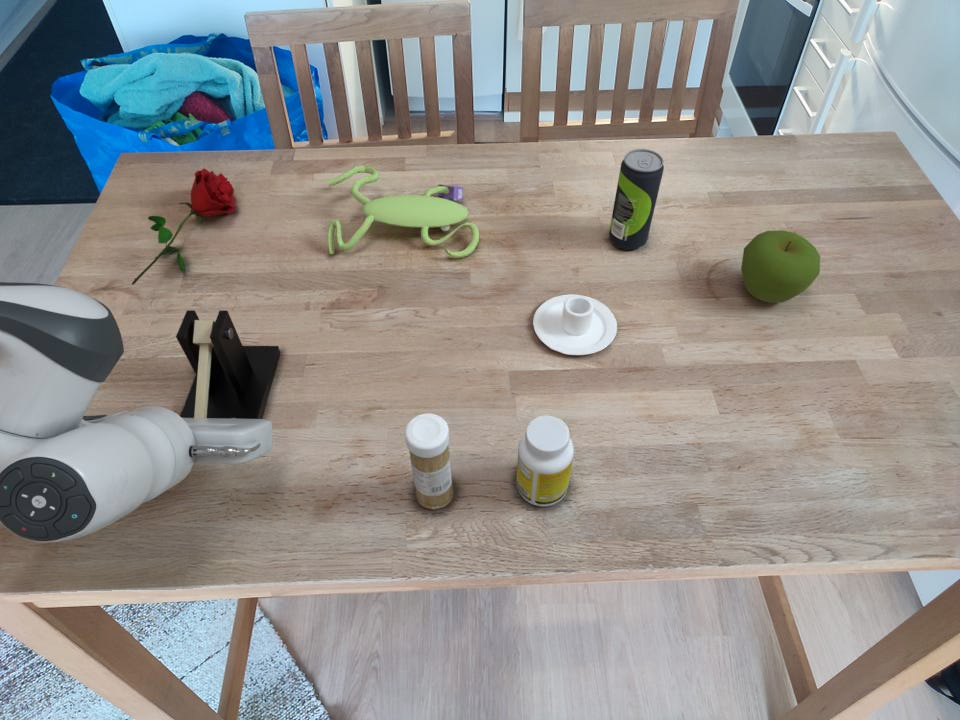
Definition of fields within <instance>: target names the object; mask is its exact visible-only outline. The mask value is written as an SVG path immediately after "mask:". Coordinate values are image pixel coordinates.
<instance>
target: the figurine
mask: <svg viewBox="0 0 960 720" xmlns="http://www.w3.org/2000/svg"><path fill="white" fill-rule="evenodd" d="M363 173H365V174H370V175H369V176H364V177H361V178H360V179H357V180H356V181H354V182H353V184H352V186H351V190H350V193H351V195H352V197H353V198H354V199H355V200H356V201H358V202H359V203H361V204H362V205H363V208H362V209H361V210H362V212H363V213H364V215H365V216H366V217H365V219H364V220H363V223H362V224H361V226H360V227H359V228H358V229H357V230H356V232H355V233H354V234H353V235H352V237H351V238H350V239H349V241H348V242H344V240H343V235H342V226H341V221H340V220H338V219H331V221H330V224H329V227H328V233H327V235H328V236H327V241H328V251H329V254H330V255H334V254H335V250H336V249H335V231H337V233H336V242H337V245H338V247H339V249H340V250H341V251H350V250H352V249H353V248H355V246H356V245H357V243H359V241H360V240H361V239H362V237H363V236H364V235H365V234H366V233H367V232H368V230H369V228H370V227H371V226H372V224H373V222H379V223H382V224H384V225H385V224H386V225H389V226H395V227H402V228H411V229H418V228H419V229H420V237H421V240H422V242H423V243H424V244H426V245H428V246H436V245H437V246H438V245H439V244H441V243H443V242H444V241H446V240H448V239H449V238H451V237H452V236H453V235H454V234H455V233H456V232H457V231H458V230H459V229H460V228H461V227H468V228H469V230H470V231H471V240H470V242H469V243H468V245H467V247H465V249H463V250H460V251H451V250H449V249H448V248H447V247H445V246H444V248H443V249H444V252H445V254H446V255H448V256H449V257H450V258H452V259H462V258H465V257H468V256H470V255H471V254H472V253H473V252H474V251H475V249H476V248H477V246H478V245H479V242H480V230H479V227H478V226H477V225H476V224H475V223H473V222H470V221H467V222H463V221H465V220H467V219H468V216H469V215H470V212H469V211H468V209H467V207H465V206H464V205H462V204H460V203H458V202H457V201H463V199H464V189H465V188H464V186H457V185H447V184H446V185H444V184H438V185H437V186H435V187H431V188H428V189H426V191H425V192H424V194H423V195H419V194H399V195H397V194H396V195H388V196H383V197H379V198H374V199H372V200H371V199H369V198H367V197H366V196H365V195H363V194H361V193H360V191H359V190H360V188H361V187H362V186H365V185H367V184H371V183H375V182H377V181H378V180H379V179H380V178H381V177H380V173H379V171H378V170H377V169H375V168H374V167H372V166H367V165H357V166H354V167H351V168H350V169H349V170H348V171H346V172H343V173H342V174H341V175H338V176H335V177H333V178H330V179H328V181H327V182H328V187H333V186H336V185H338V184H341V183H342V182H344V181H346V180H349V179H350V178H351V177H353V176H355V175H357V174H363ZM436 194H437V196H434V195H436ZM461 222H463V223H462V224H460V225H458V227H456V228H455V229H453V230H452V231H451V232H450V233H447V234H446V235H445V236H443V237H441V238H439V239H436V240H434V239H431V238H430V236H429V229H431V228H433V229H434V228H440V229H441V231H443V232H447V231H449V230H450V229H451V226H452V225H457V224H459V223H461Z"/></svg>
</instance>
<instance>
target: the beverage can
mask: <svg viewBox="0 0 960 720" xmlns="http://www.w3.org/2000/svg"><path fill="white" fill-rule="evenodd" d="M664 166H665V165H664V158H663V156H662V155H661V154H660V153H658V152H656V151H654V150H652V149H647V148H635V149H632V150H629V151H627V152H626V153H625V154H624V156H623V160H622V161H621V163H620V168H619V174H618V180H617V186H616V191H615V197H614V202H613V208H612V212H611V213H612V214H611V218H610V219H611V220H610V224H609V232H608V238H609V240H610V242H611V243H612V244H613V245H614V246H615V247H617V248H619V249H621V250H623V251H624V250H625V251H634V250H638V249H640V248H641V247H643V246H644V245H646V244H647V241H648V239H649V234H650V229H651V226H652V222H653V217H654V212H655V210H656V205H657V201H658V195H659V191H660V187H661V182H662V179H663V174H664V170H665V167H664Z"/></svg>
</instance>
